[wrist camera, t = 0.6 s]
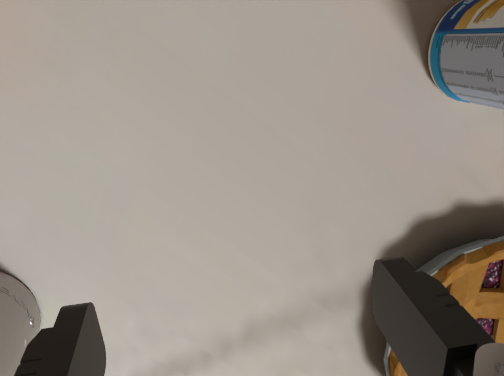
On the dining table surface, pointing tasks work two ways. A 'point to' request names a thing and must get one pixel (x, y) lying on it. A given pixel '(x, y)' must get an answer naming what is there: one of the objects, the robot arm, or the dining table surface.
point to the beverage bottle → (470, 53)
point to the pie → (468, 287)
